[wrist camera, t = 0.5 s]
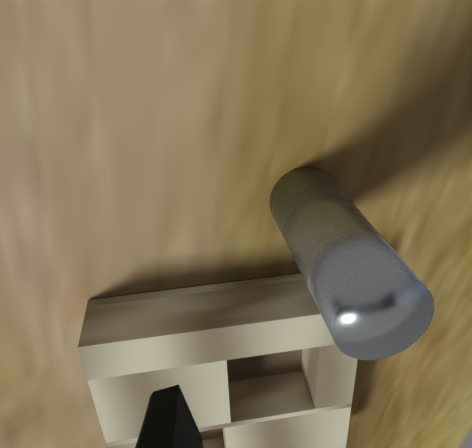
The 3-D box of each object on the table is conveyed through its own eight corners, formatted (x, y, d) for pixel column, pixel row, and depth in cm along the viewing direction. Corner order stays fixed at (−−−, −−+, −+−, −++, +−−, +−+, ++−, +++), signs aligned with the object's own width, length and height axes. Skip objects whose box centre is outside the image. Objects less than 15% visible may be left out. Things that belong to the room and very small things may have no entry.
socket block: (339, 268, 21) (364, 308, 19) (324, 426, 27) (342, 472, 25) (88, 299, 20) (77, 347, 18) (129, 459, 26) (126, 512, 23)
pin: (338, 164, 19) (443, 271, 12) (333, 225, 20) (424, 352, 13) (269, 170, 18) (336, 285, 11) (269, 232, 20) (329, 367, 13)
